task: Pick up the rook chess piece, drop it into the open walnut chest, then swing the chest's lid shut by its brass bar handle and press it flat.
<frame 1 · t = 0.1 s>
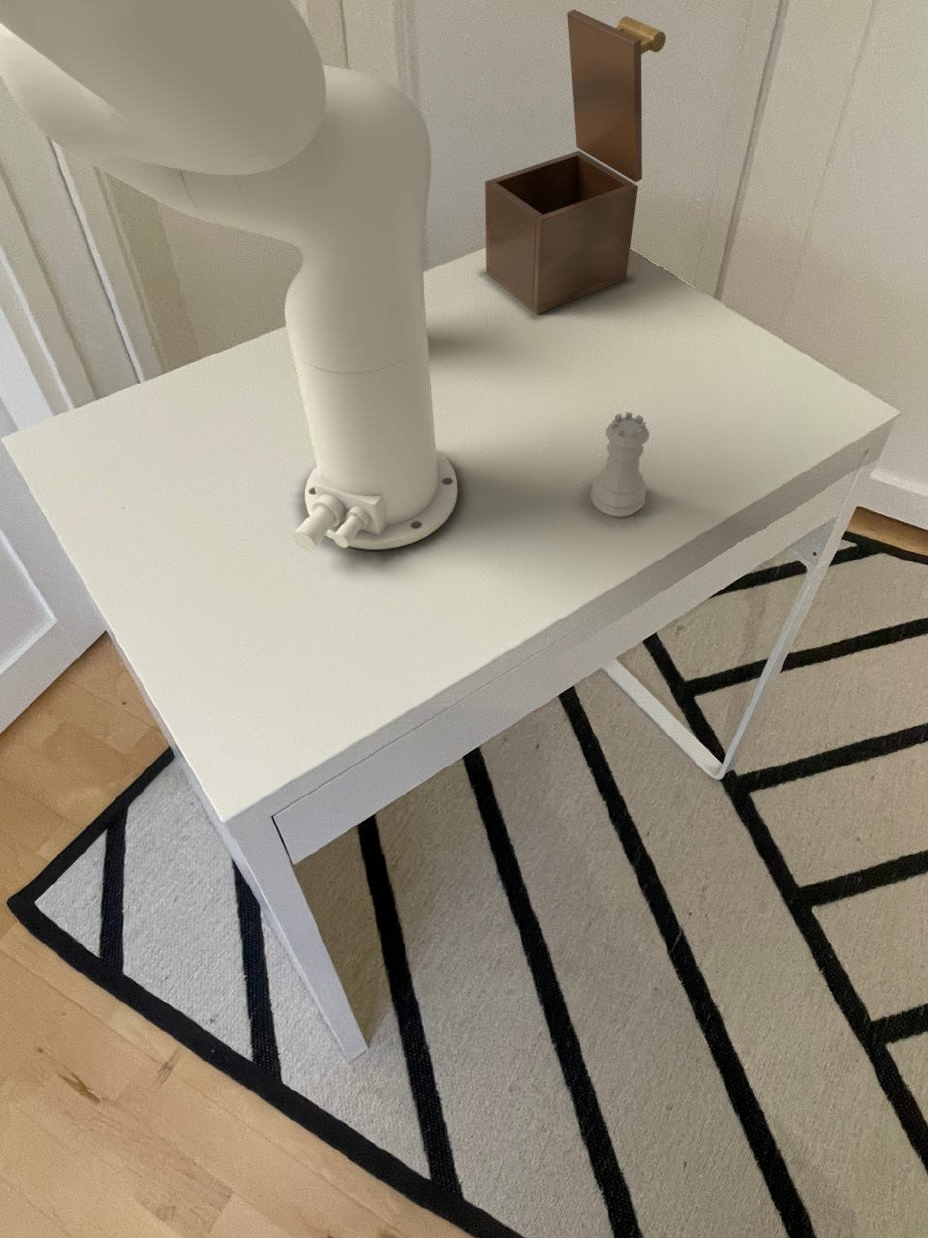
lid: (625, 87, 81), point 17 cm above the table, hinge at 80.0°
chest: (555, 276, 92), on the table
rook chess piece: (617, 502, 70), on the table
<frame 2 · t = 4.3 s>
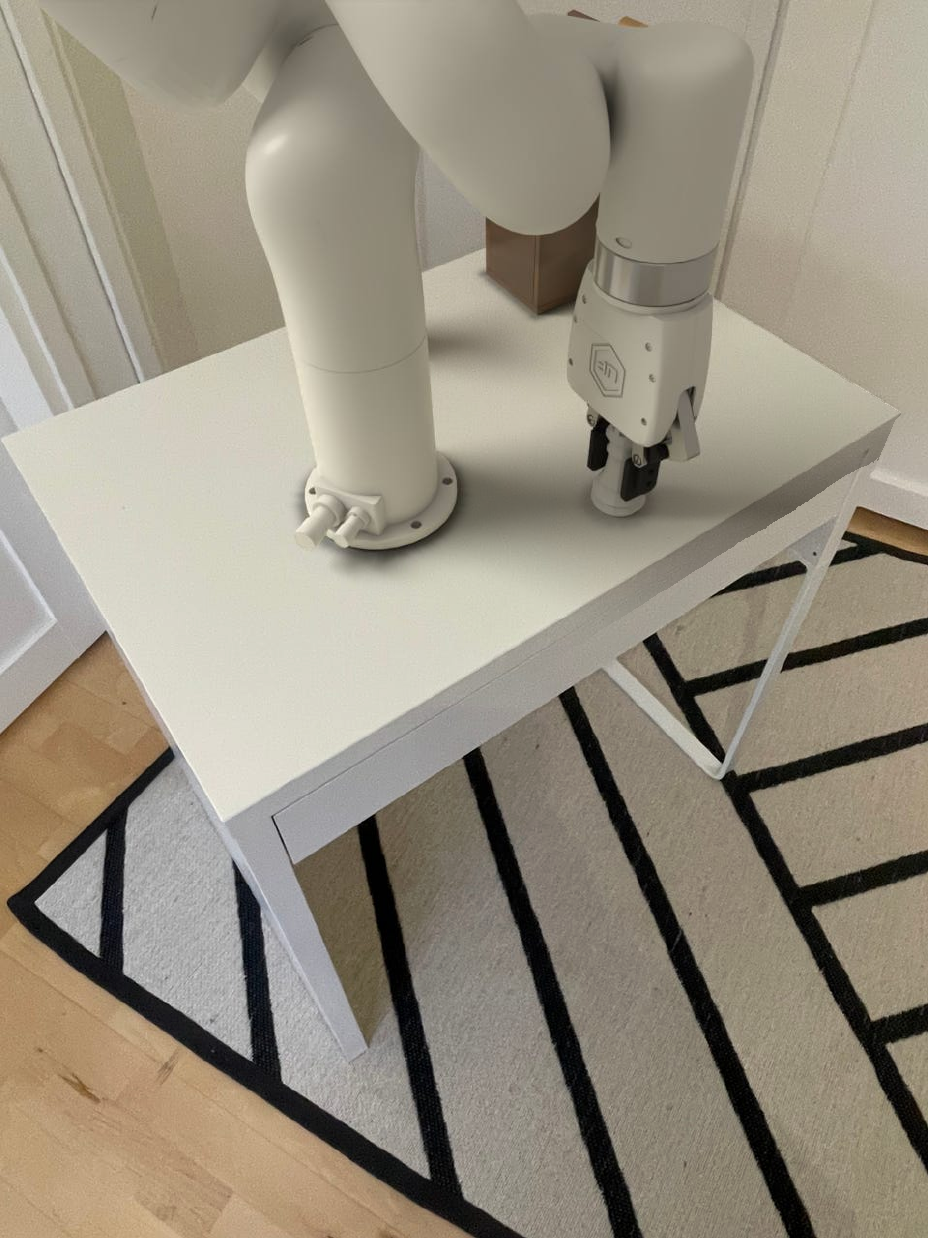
hand: (621, 476, 68), 3 cm above the table, tool pointing down, fingers closed on rook chess piece, 3 cm apart
rook chess piece: (617, 502, 70), on the table, touching gripper
everything else where it was.
when the fingers open (10 cm above the table, at t = 13.6 s): rook chess piece drops 6 cm, resting on chest.
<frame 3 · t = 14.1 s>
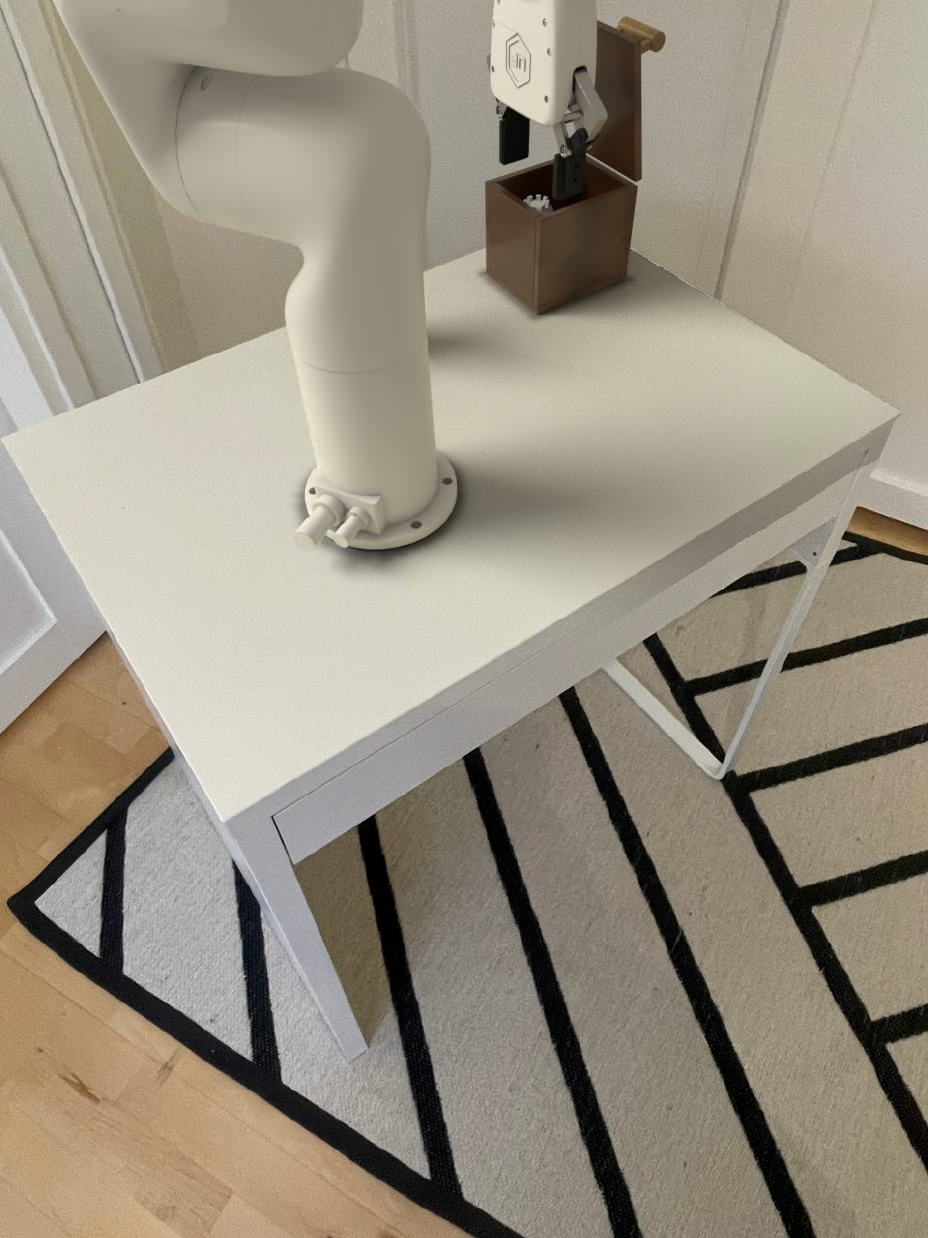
hand: (540, 176, 82), 11 cm above the table, tool pointing down, fingers open, 8 cm apart
rook chess piece: (537, 278, 90), point 1 cm above the table, touching chest
everything else where it was.
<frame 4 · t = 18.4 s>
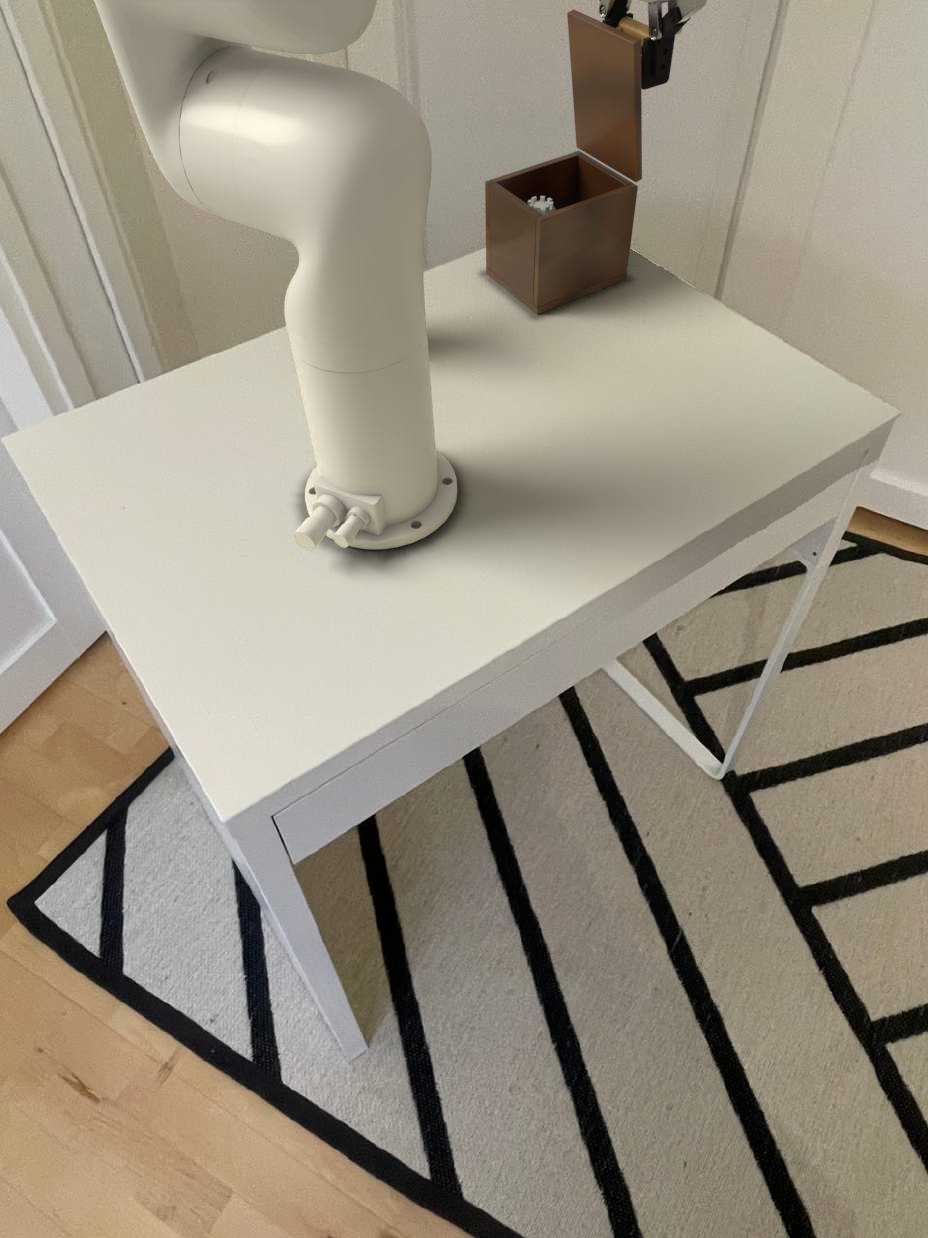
hand: (633, 72, 80), 18 cm above the table, tool pointing down, fingers closed on lid, 5 cm apart
lid: (625, 87, 81), point 17 cm above the table, hinge at 80.0°, touching gripper
everything else where it was.
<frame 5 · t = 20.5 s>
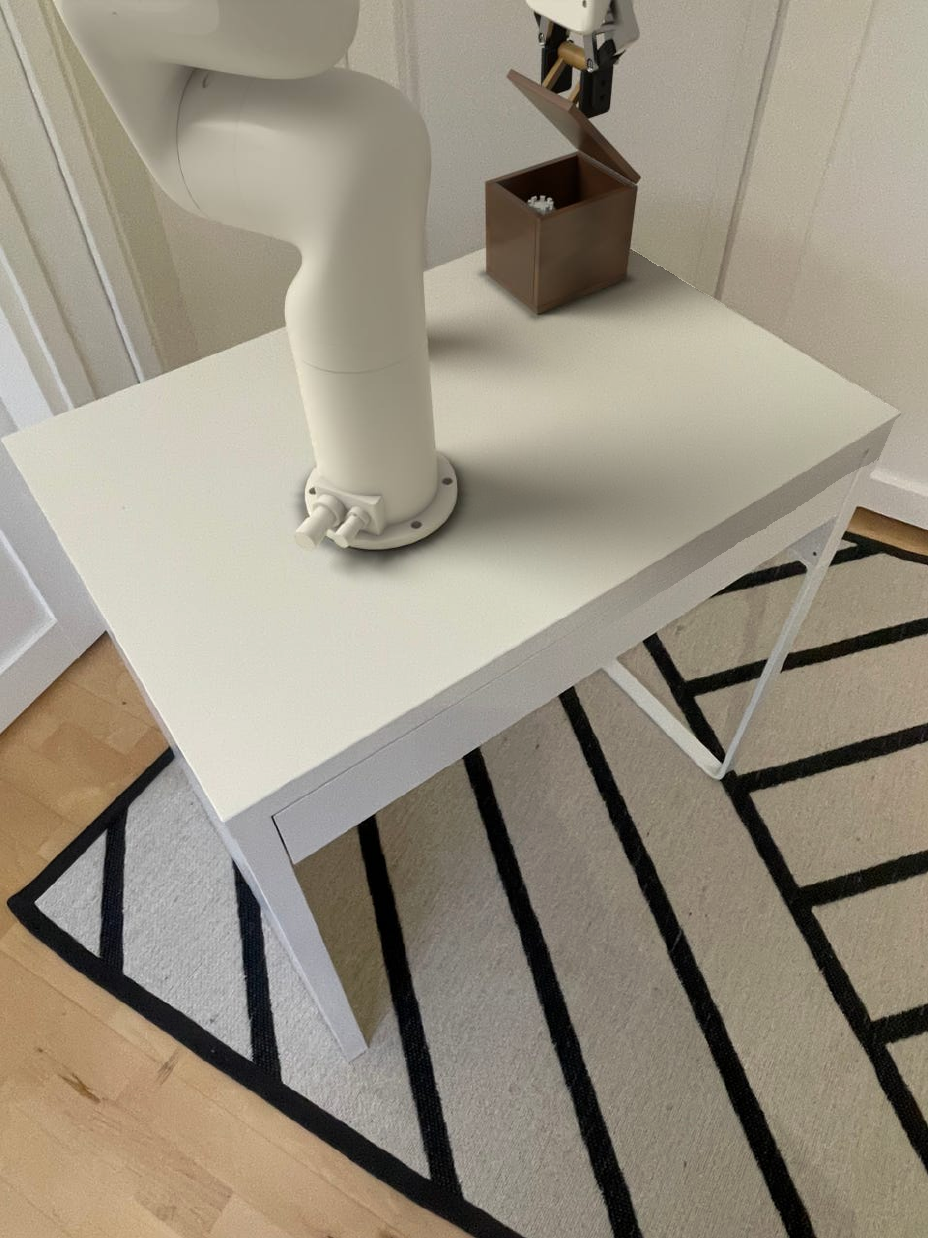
hand: (574, 101, 79), 17 cm above the table, tool pointing down, fingers closed on lid, 5 cm apart
lid: (590, 104, 80), point 16 cm above the table, hinge at 44.0°, touching gripper
everything else where it was.
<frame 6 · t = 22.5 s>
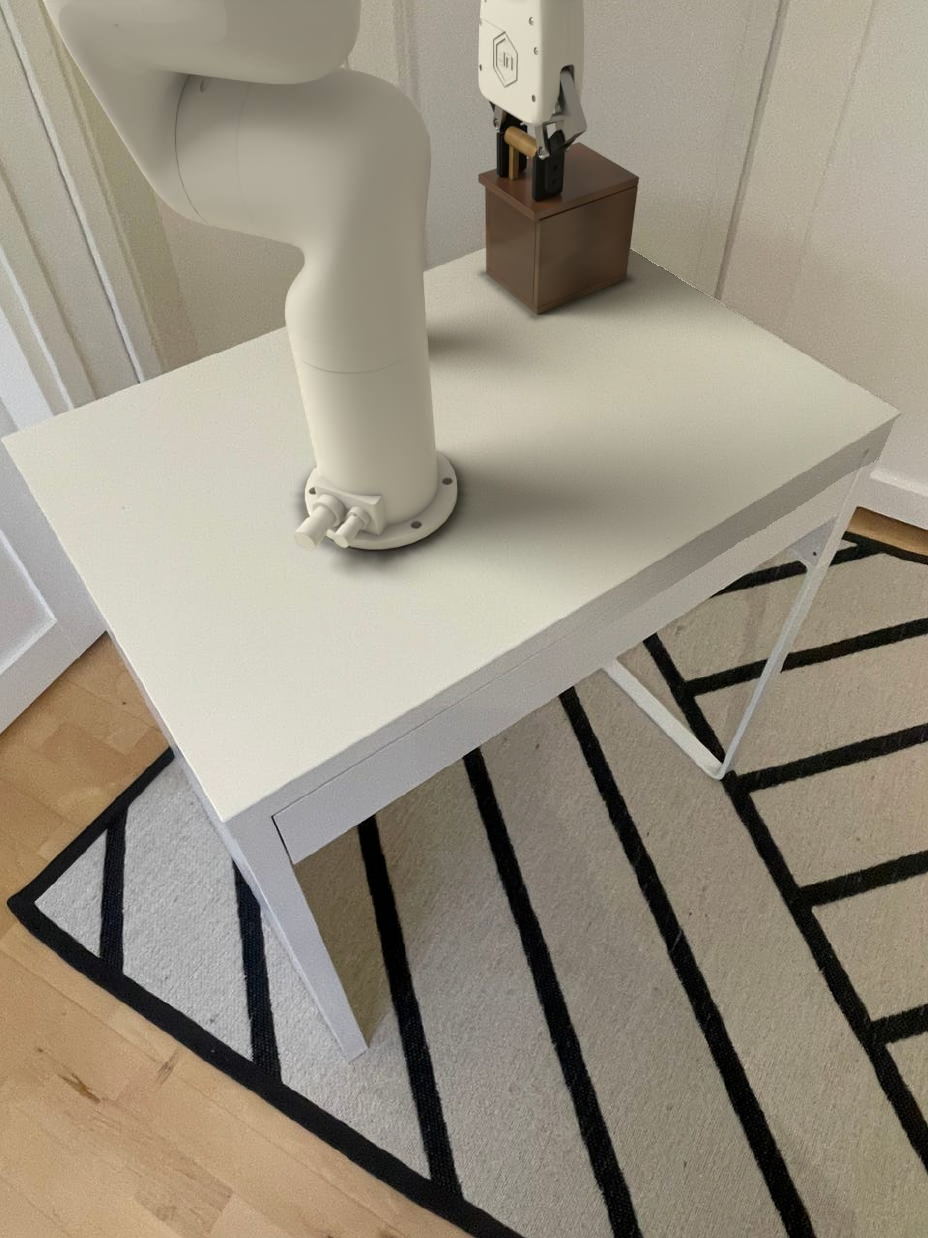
hand: (529, 182, 82), 11 cm above the table, tool pointing down, fingers open, 5 cm apart
lid: (559, 154, 82), point 13 cm above the table, hinge at 0.4°
everything else where it was.
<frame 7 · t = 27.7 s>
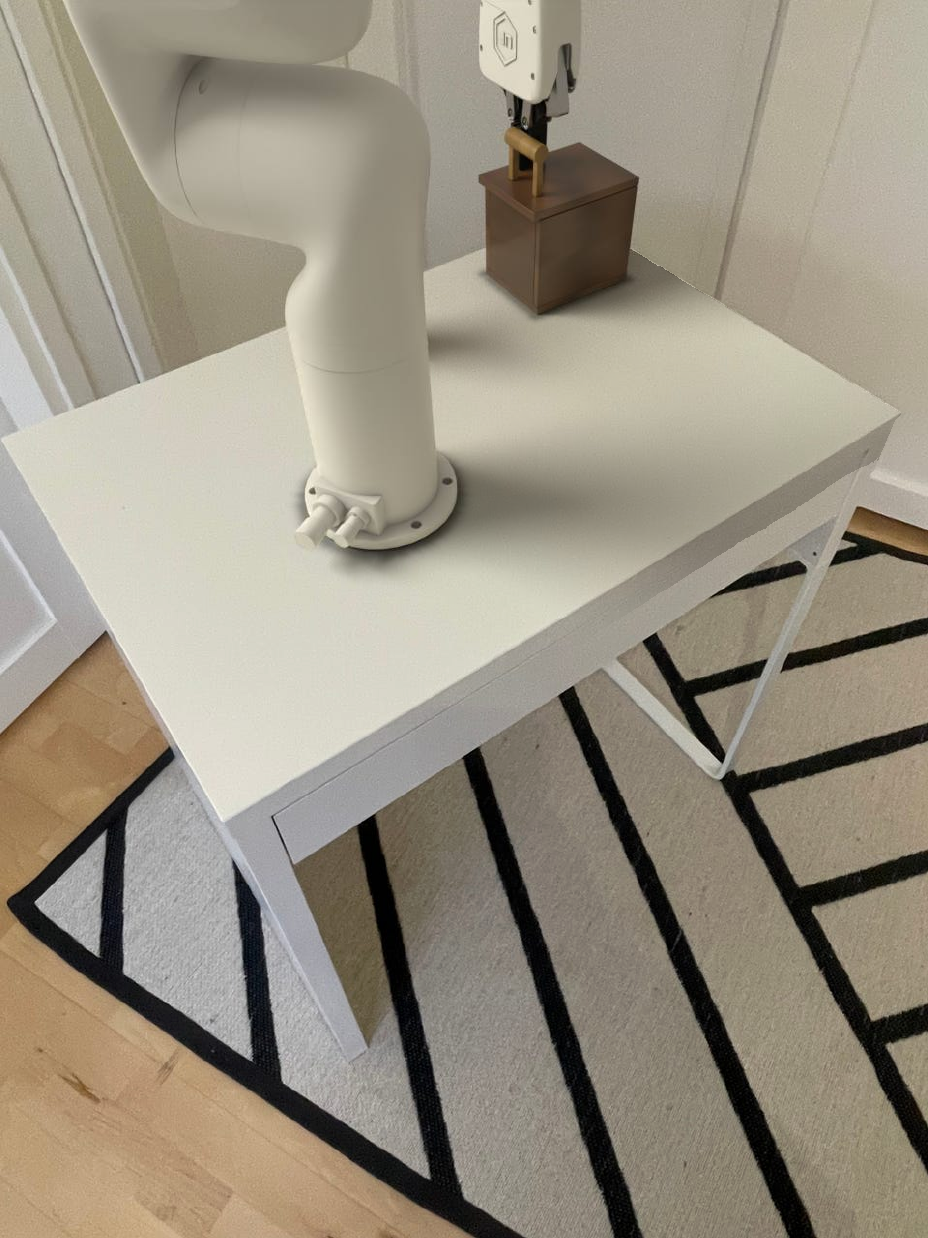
hand: (528, 163, 85), 11 cm above the table, tool pointing down, fingers closed
lid: (559, 155, 82), point 13 cm above the table, hinge at 0.0°, touching gripper
everything else where it was.
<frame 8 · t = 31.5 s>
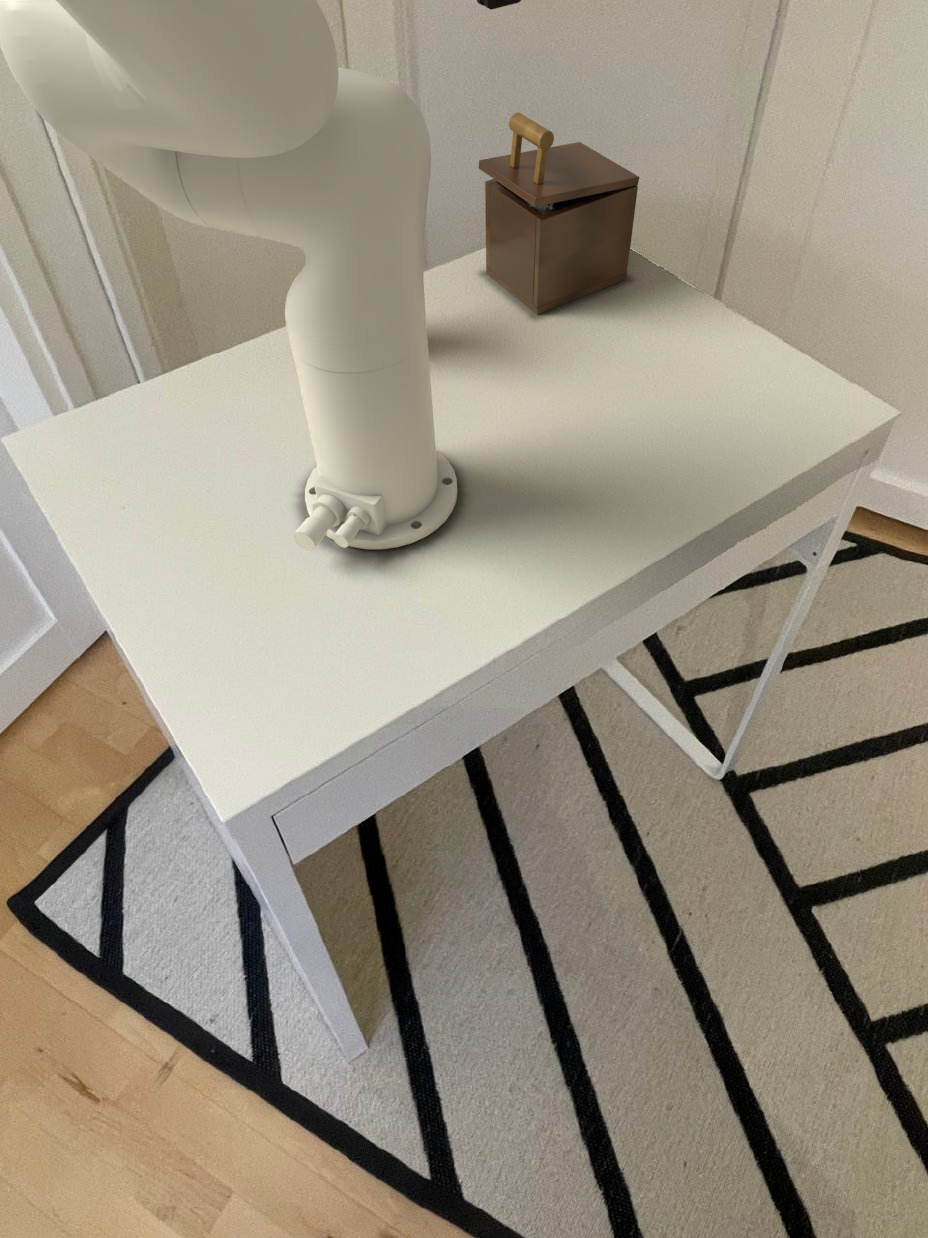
hand: (499, 2, 66), 27 cm above the table, tool pointing down, fingers closed
lid: (562, 146, 81), point 13 cm above the table, hinge at 6.4°
everything else where it was.
at the end: rook chess piece inside the target area in the chest (1.9 cm from its centre), point 0.6 cm above the chest's base; lid at +6° (first picture: +80°) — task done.
